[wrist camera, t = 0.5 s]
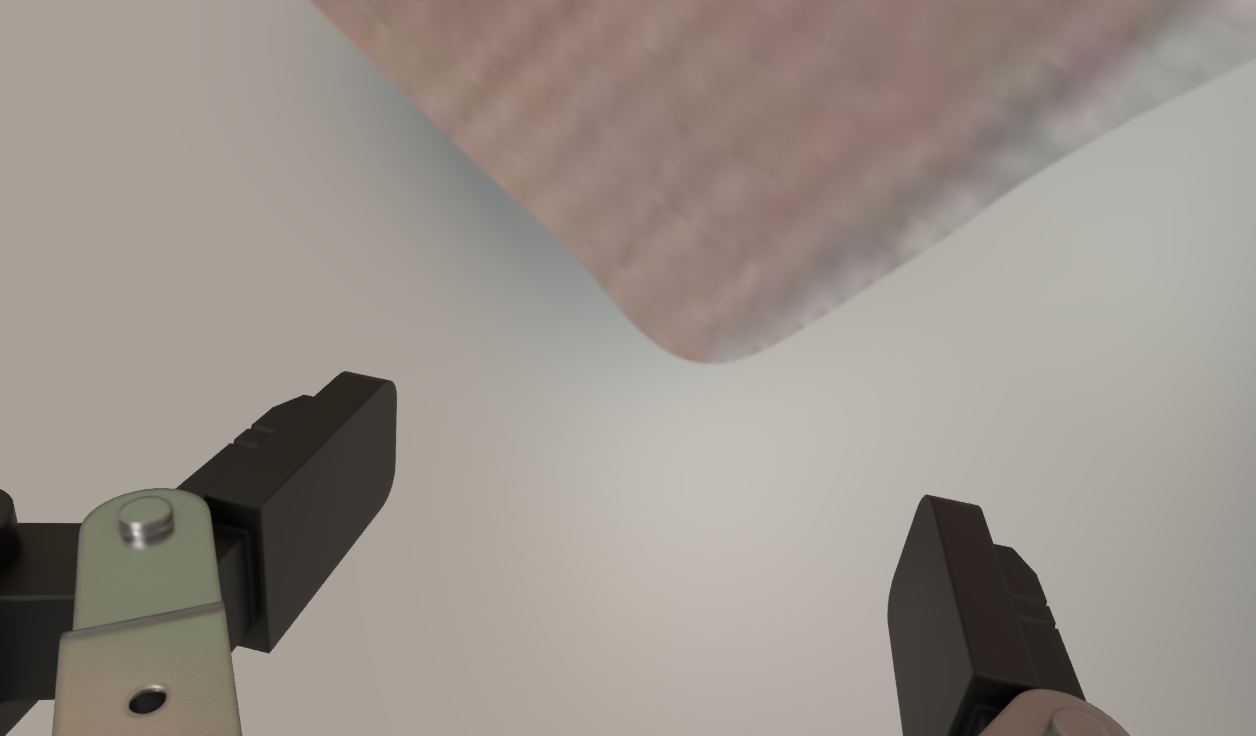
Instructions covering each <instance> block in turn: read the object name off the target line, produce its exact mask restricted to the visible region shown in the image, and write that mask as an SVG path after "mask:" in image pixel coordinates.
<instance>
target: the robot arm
mask: <svg viewBox="0 0 1256 736" xmlns="http://www.w3.org/2000/svg"><path fill="white" fill-rule="evenodd" d="M396 411H397V393H396V387H395V385H394V383H393V382H392V381H390V380H385V379H380V378H375V377H371V376H366V375H361V374H356V373H352V372H347V371H346V372H345V371H344V372H342V373H340V374H339V375H338V376H337V377H335V378H334V379H333V380H332V381H331V382H330V383H329V384H328V385H327V386H325V387H324V388H323V389H322V390H321V391H320V392H319V393H317V394H316V395H315V396H314V397H312V396H308V395H302V396H300V397H297V398H295V399H292V400H290V401H287V402H285V403H282V404H280V405H278V406H275V407H273V408H271V409H270V410H269V411H268V412H267V413H265V415H263V416H262V417H261V418H260V419H259V420H257V421H256V422H255V423H254V424H252V427H251V429H246V430H245V431H244V432H243V433H242V434H240V435H239V436H238V437H237V438H236V439H235V440H234V443H233V444H231V443H230V444H228V445H227V446H226V447H225V448H224V449H222V450H221V451H220V452H219V453H218V454H216V455H215V456H214V457H213V458H212V459H210V460H209V461H208V462H207V463H206V464H205V465H203V466H202V467H201V468H200V469H199V470H197V471H196V472H195V473H194V474H193V475H191V476H190V477H189V478H188V479H187V480H185V481H184V482H183V483H182V484H181V485H180V486H178V487H177V488H176V489H168V488H155V489H145V490H140V491H135V492H131V493H127V494H123V495H121V496H118V497H116V498H113V499H111V500H109V501H107V502H105V503H103V504H101V505H100V506H98V507H97V508H95V509H94V510H93V511H92V512H90V513H89V514H88V516H87V517H86V518H85V519H84V521H83V522H82V523H18V522H17V518H16V513H15V508H14V504H13V500H12V498H11V497H10V496H9V494H7V493H6V492H5V491H3V490H1V489H0V736H5V735H6V734H7V733H8V732H9V731H10V730H11V729H12V728H13V727H14V726H15V725H16V724H17V723H18V722H19V721H20V720H21V718H22V717H23V716H24V715H25V714H26V713H27V712H28V711H29V710H30V709H31V708H32V707H33V706H34V705H35V704H36V703H37V701H38V700H55V704H54V716H53V728H52V729H53V730H52V736H242V731H241V723H240V716H239V709H238V702H237V694H236V687H235V679H234V672H233V665H232V658H231V652H232V651H233V650H234V649H235V648H236V646H241V647H245V648H250V649H253V650H257V651H261V652H266V653H270V652H271V651H272V649H273V648H274V647H275V646H276V644H277V643H278V642H279V640H280V639H281V638H282V636H283V635H284V634H285V633H286V631H287V630H288V629H289V627H290V626H291V625H292V623H293V622H294V621H295V620H296V618H297V617H298V616H299V614H300V613H301V612H302V611H303V609H304V608H305V607H306V605H307V604H308V603H309V601H310V600H311V599H312V598H313V596H314V595H315V594H316V592H317V591H318V590H319V588H320V587H321V586H322V584H323V583H324V582H325V581H326V579H327V578H328V577H329V576H330V574H331V573H332V572H333V570H334V569H335V568H336V566H337V565H338V564H339V563H340V561H341V560H342V559H343V557H344V556H345V555H346V554H347V552H348V551H349V550H350V548H351V547H352V546H353V544H354V543H355V542H356V540H357V539H358V538H359V537H360V535H361V534H362V533H363V532H364V530H365V529H366V528H367V526H368V525H369V524H370V522H371V521H372V520H373V519H374V517H375V516H376V515H377V513H378V512H379V511H380V510H381V508H382V507H383V505H384V504H385V502H386V500H387V498H388V496H389V493H390V490H391V487H392V484H393V480H394V474H395V461H396V459H395V458H396ZM1046 603H1047V600H1046V598H1045V595H1044V592H1043V590H1042V587H1041V585H1040V582H1039V580H1038V577H1037V574H1036V573H1035V572H1034V571H1033V570H1032V569H1031V568H1030V567H1029V566H1028V565H1027V564H1026V562H1025V561H1024V560H1023V559H1022V558H1021V557H1020V556H1019V555H1018V554H1017V552H1016V551H1015V550H1014V549H1013V548H1011V547H1006V546H1001V545H996V544H993V541H992V538H991V535H990V532H989V529H988V526H987V524H986V521H985V518H984V515H983V512H982V509H981V508H980V507H979V506H978V505H974V504H969V503H964V502H959V501H955V500H950V499H945V498H941V497H936V496H931V495H925V496H924V497H923V498H922V499H921V501H920V503H919V505H918V508H917V510H916V513H915V516H914V519H913V522H912V525H911V528H910V531H909V533H908V536H907V539H906V543H905V545H904V548H903V551H902V554H901V557H900V560H899V563H898V565H897V568H896V571H895V574H894V577H893V580H892V585H891V589H890V594H889V602H888V627H889V635H890V642H891V650H892V657H893V664H894V672H895V679H896V686H897V693H898V702H899V709H900V716H901V724H902V731H903V736H1130V735H1129V734H1128V733H1127V732H1126V731H1125V730H1124V729H1123V728H1122V727H1121V726H1120V725H1119V724H1118V723H1117V722H1116V721H1115V720H1113V719H1112V718H1111V717H1110V716H1108V715H1107V714H1106V713H1104V712H1103V711H1101V710H1100V709H1098V708H1097V707H1095V706H1093V705H1092V704H1090V703H1088V702H1086V700H1085V697H1084V694H1083V692H1082V689H1081V687H1080V684H1079V682H1078V679H1077V677H1076V674H1075V672H1074V669H1073V666H1072V664H1071V661H1070V659H1069V656H1068V654H1067V651H1066V649H1065V646H1064V643H1063V641H1062V638H1061V636H1060V633H1059V631H1058V629H1055V624H1056V623H1055V620H1054V618H1053V616H1052V613H1051V610H1050V608H1049V606H1046Z"/></svg>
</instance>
